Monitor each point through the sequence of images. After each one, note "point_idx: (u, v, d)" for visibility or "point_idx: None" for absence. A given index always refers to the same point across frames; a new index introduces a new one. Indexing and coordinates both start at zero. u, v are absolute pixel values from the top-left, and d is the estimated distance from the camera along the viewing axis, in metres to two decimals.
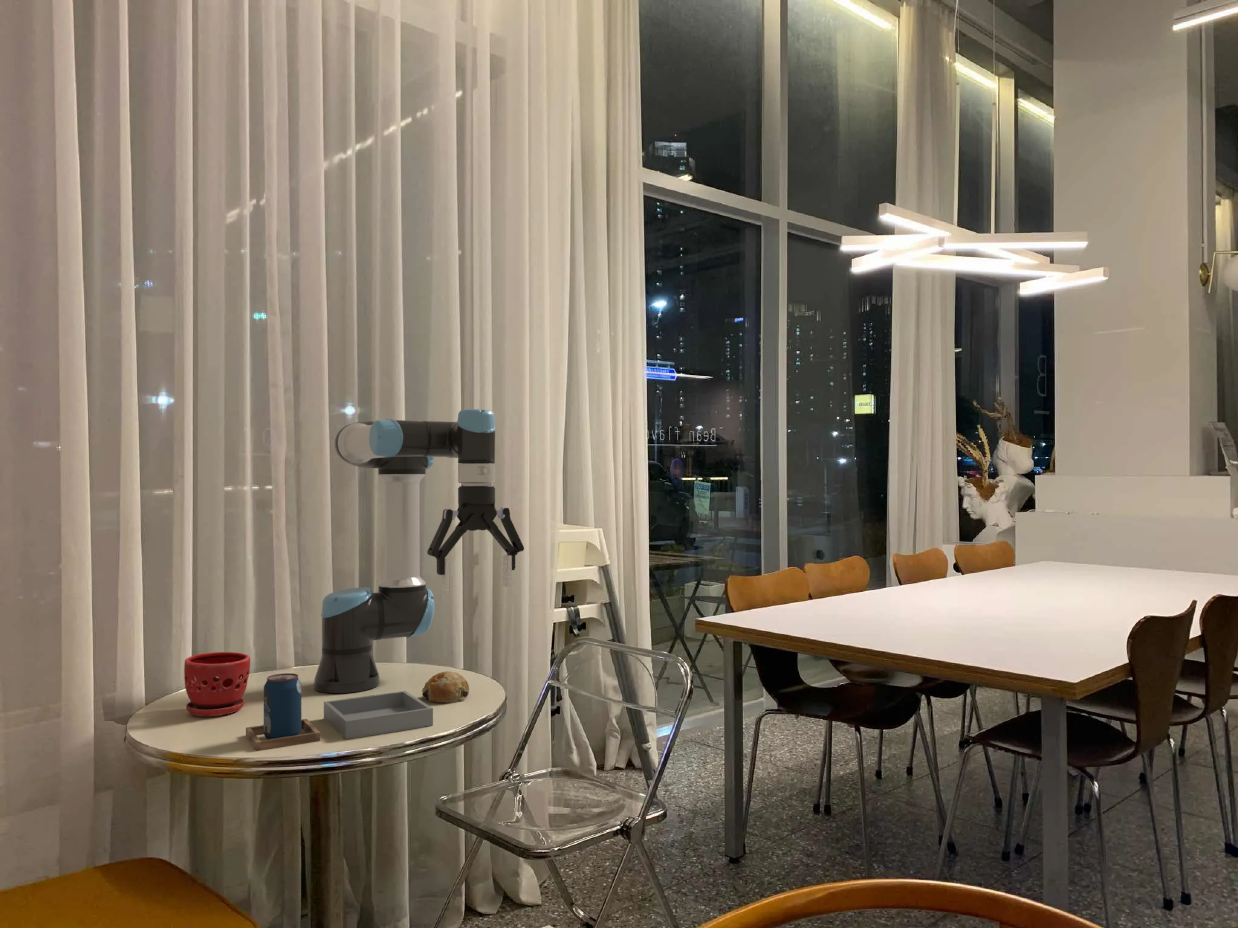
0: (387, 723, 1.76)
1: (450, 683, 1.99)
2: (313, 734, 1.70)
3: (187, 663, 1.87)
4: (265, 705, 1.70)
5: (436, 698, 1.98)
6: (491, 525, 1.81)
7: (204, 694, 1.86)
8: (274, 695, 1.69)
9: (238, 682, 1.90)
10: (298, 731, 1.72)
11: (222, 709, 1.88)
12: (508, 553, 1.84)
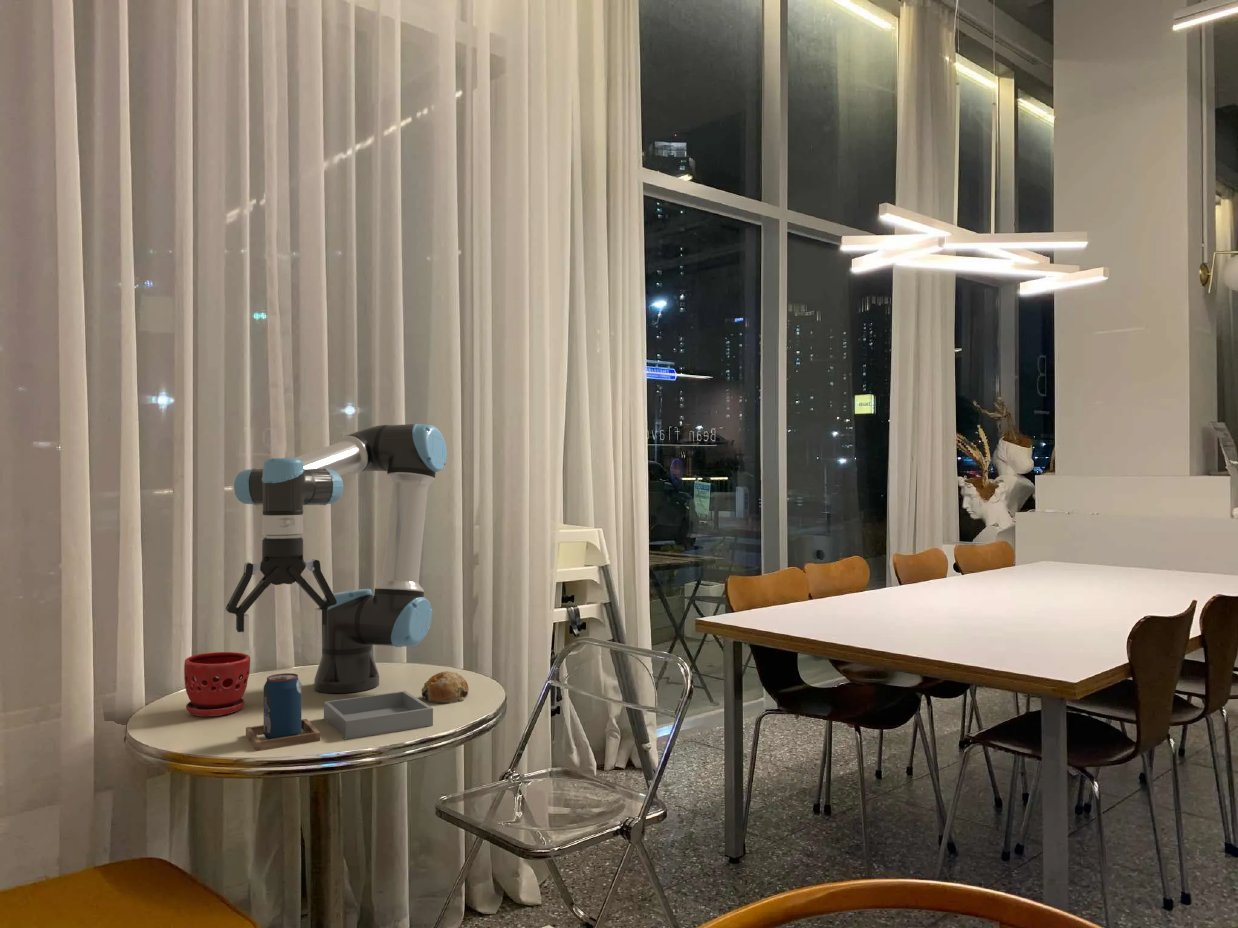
0: (387, 723, 1.76)
1: (449, 683, 1.99)
2: (313, 734, 1.70)
3: (187, 663, 1.87)
4: (265, 705, 1.70)
5: (435, 698, 1.98)
6: (297, 579, 1.73)
7: (204, 694, 1.86)
8: (274, 695, 1.69)
9: (238, 682, 1.90)
10: (298, 731, 1.72)
11: (222, 709, 1.88)
12: (319, 607, 1.77)
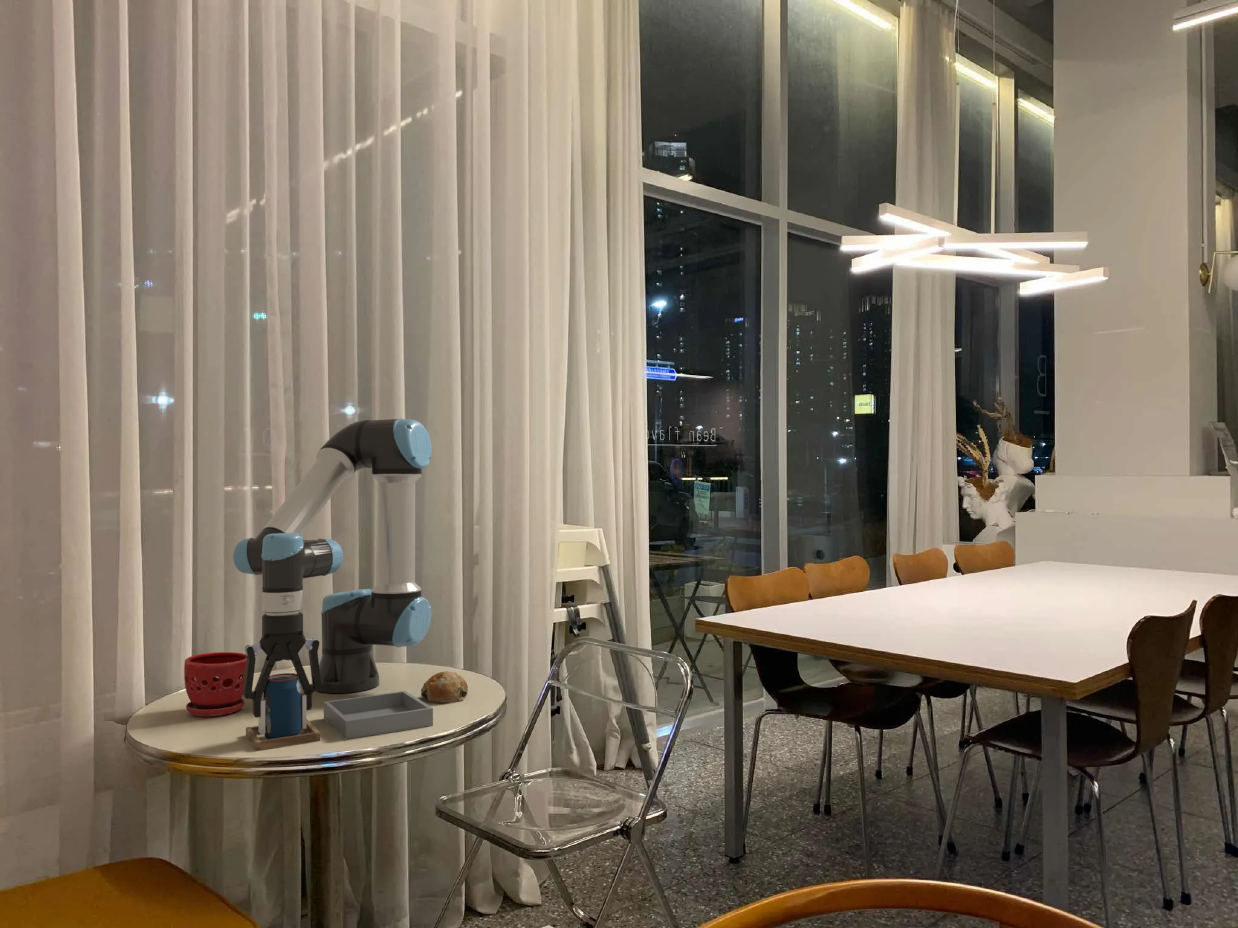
0: (387, 723, 1.76)
1: (449, 683, 1.99)
2: (313, 734, 1.70)
3: (187, 663, 1.87)
4: (265, 705, 1.70)
5: (434, 698, 1.98)
6: (294, 656, 1.72)
7: (204, 694, 1.86)
8: (274, 695, 1.69)
9: (238, 682, 1.90)
10: (298, 731, 1.72)
11: (222, 709, 1.88)
12: (304, 692, 1.75)
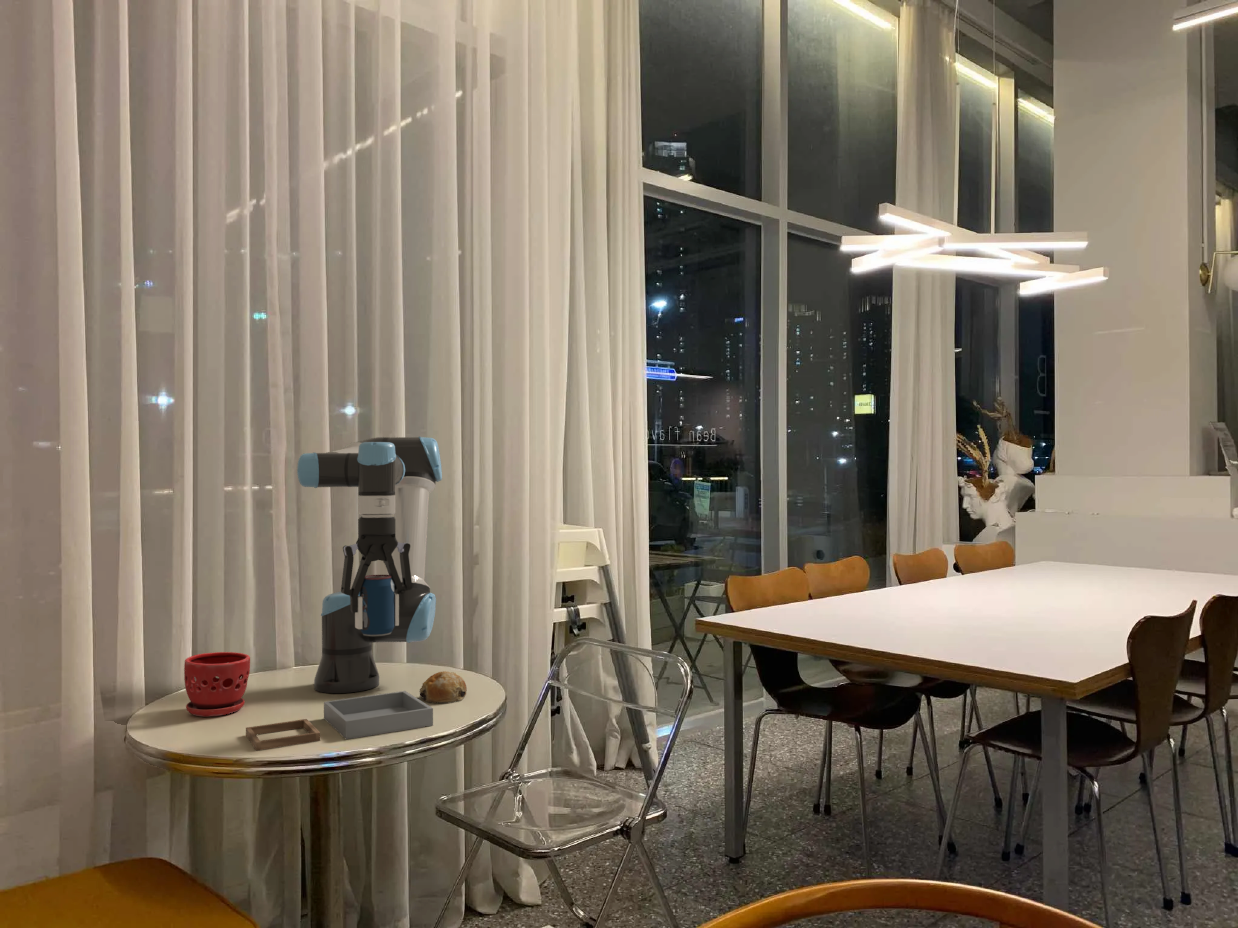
0: (387, 723, 1.76)
1: (448, 683, 1.99)
2: (313, 734, 1.70)
3: (187, 663, 1.87)
4: (362, 602, 1.81)
5: (433, 698, 1.98)
6: (388, 557, 1.83)
7: (204, 694, 1.86)
8: (371, 592, 1.80)
9: (238, 682, 1.90)
10: (392, 627, 1.83)
11: (222, 709, 1.88)
12: (396, 592, 1.86)
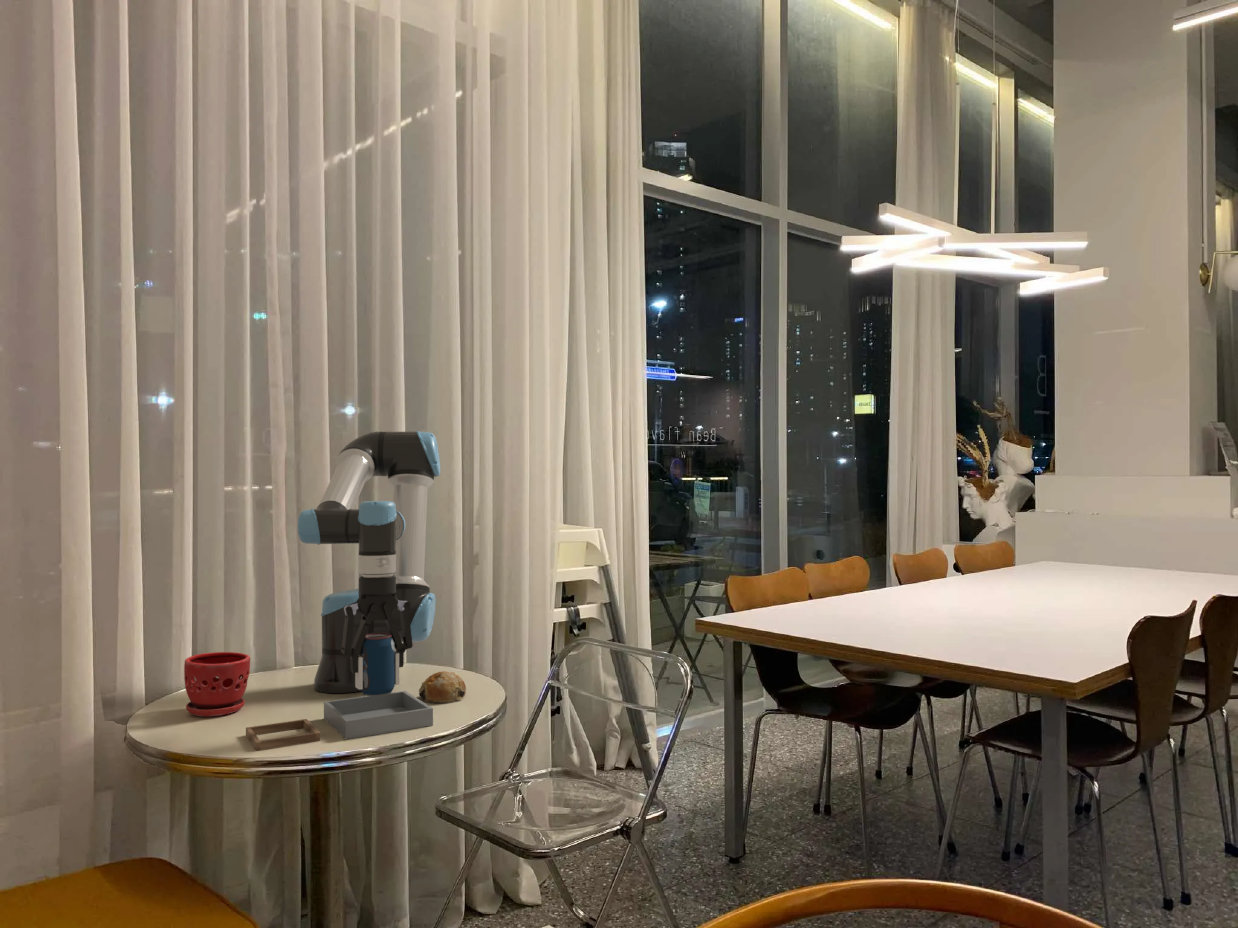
0: (387, 723, 1.76)
1: (447, 683, 1.99)
2: (313, 734, 1.70)
3: (187, 663, 1.87)
4: None
5: (432, 698, 1.98)
6: (388, 616, 1.83)
7: (204, 694, 1.86)
8: (371, 652, 1.80)
9: (238, 682, 1.90)
10: (392, 686, 1.83)
11: (222, 709, 1.88)
12: (396, 650, 1.86)
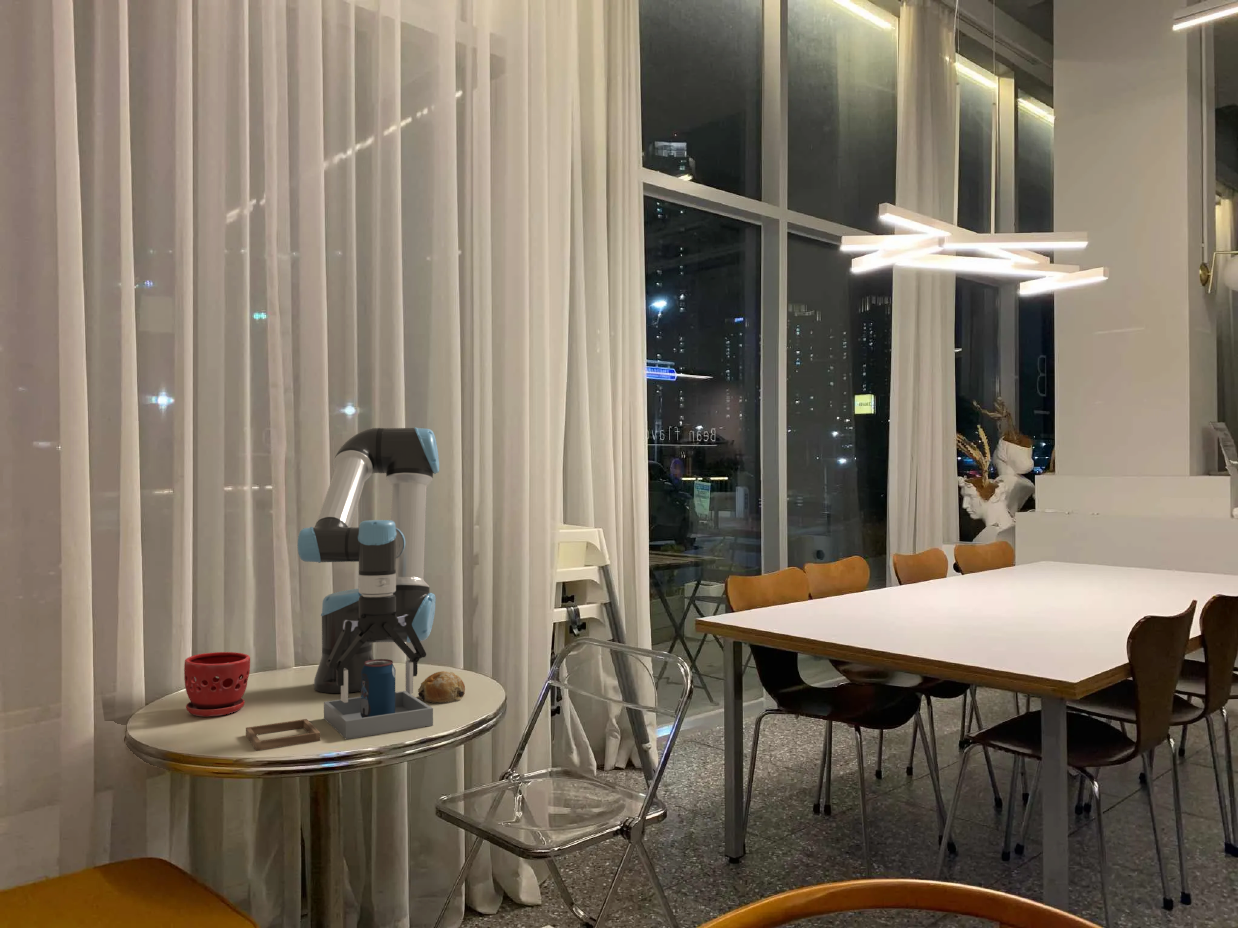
0: (387, 723, 1.76)
1: (446, 683, 1.99)
2: (313, 734, 1.70)
3: (187, 663, 1.87)
4: (363, 688, 1.81)
5: (432, 698, 1.98)
6: (391, 634, 1.84)
7: (204, 694, 1.86)
8: (372, 679, 1.80)
9: (238, 682, 1.90)
10: None
11: (222, 709, 1.88)
12: (410, 659, 1.88)
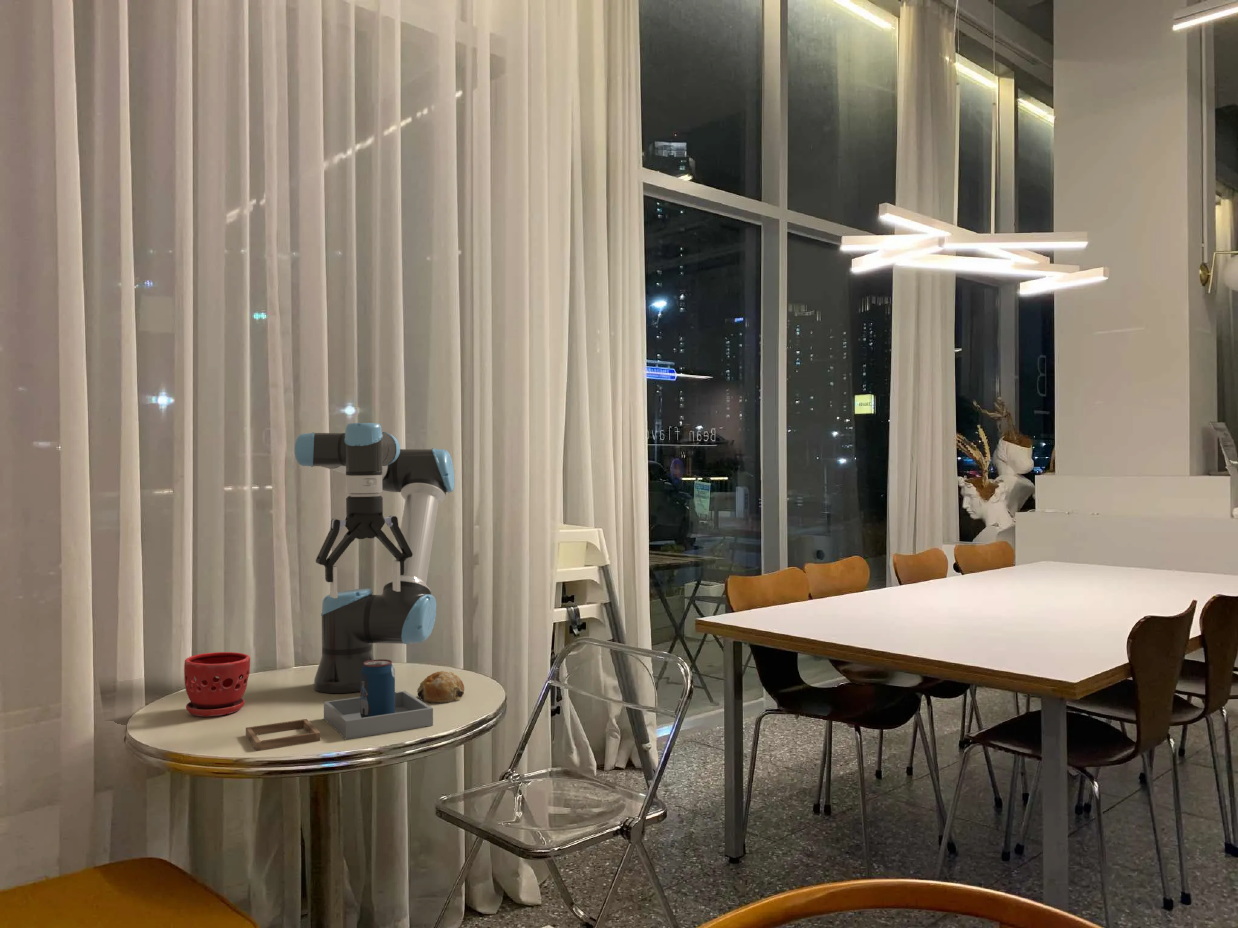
0: (387, 723, 1.76)
1: (445, 683, 1.99)
2: (313, 734, 1.70)
3: (187, 663, 1.87)
4: (362, 689, 1.81)
5: (431, 698, 1.98)
6: (379, 533, 1.89)
7: (204, 694, 1.86)
8: (372, 679, 1.80)
9: (238, 682, 1.90)
10: None
11: (222, 709, 1.88)
12: (397, 559, 1.93)
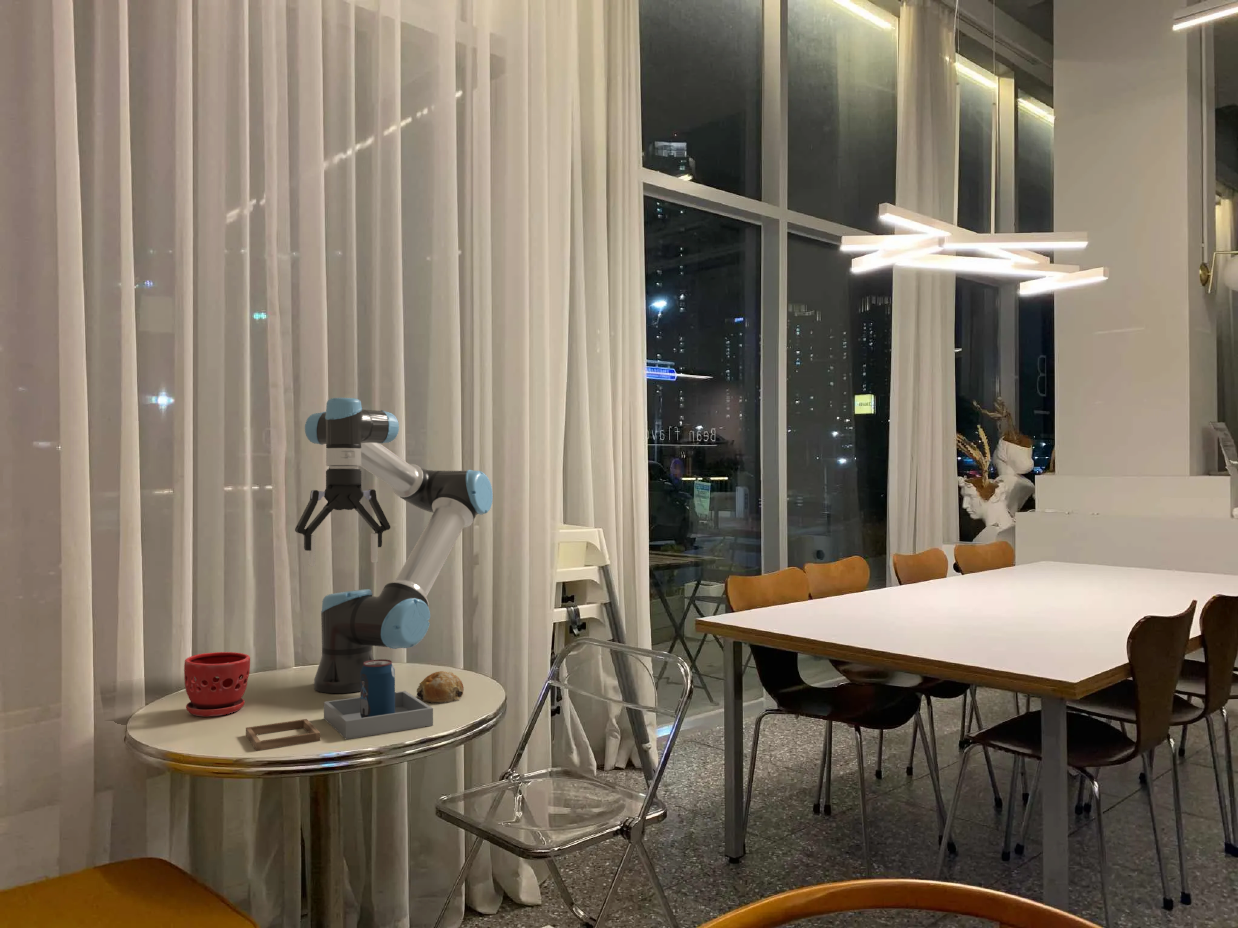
0: (387, 723, 1.76)
1: (445, 683, 1.99)
2: (313, 734, 1.70)
3: (187, 663, 1.87)
4: (362, 689, 1.81)
5: (430, 698, 1.98)
6: (357, 505, 1.95)
7: (204, 694, 1.86)
8: (372, 679, 1.80)
9: (238, 682, 1.90)
10: None
11: (222, 709, 1.88)
12: (375, 531, 1.99)
